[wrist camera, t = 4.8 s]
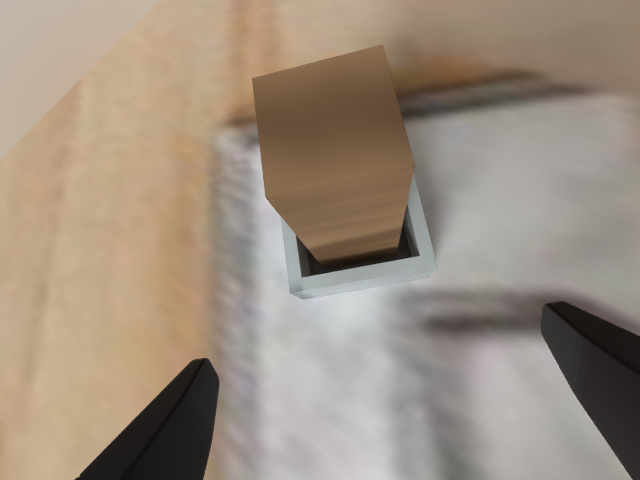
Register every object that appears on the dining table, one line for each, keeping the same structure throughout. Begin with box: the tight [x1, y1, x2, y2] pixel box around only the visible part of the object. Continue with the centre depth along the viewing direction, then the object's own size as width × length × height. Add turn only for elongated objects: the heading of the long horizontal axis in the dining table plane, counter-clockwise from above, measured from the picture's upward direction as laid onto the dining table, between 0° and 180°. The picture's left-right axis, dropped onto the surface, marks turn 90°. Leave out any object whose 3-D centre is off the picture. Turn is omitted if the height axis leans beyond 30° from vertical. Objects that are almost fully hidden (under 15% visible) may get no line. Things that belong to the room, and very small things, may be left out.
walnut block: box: [252, 45, 415, 269], centre depth 18 cm, size 5×5×13 cm
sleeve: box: [281, 173, 438, 299], centre depth 24 cm, size 16×9×4 cm, turn 9°
